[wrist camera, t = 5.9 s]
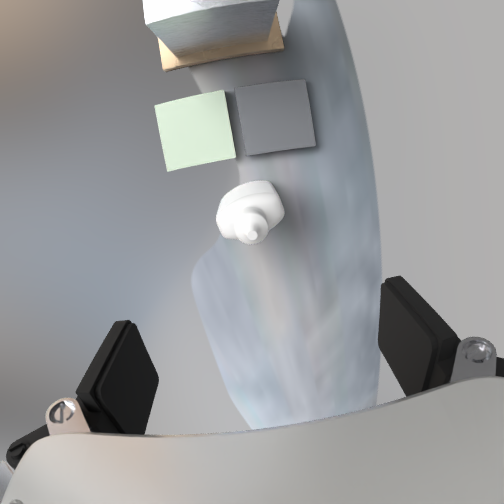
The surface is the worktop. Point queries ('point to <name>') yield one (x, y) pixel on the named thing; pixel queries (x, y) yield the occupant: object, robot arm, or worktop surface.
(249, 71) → the worktop surface
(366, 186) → the worktop surface
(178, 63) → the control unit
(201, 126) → the sage pad
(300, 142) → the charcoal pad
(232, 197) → the eye dropper bottle
